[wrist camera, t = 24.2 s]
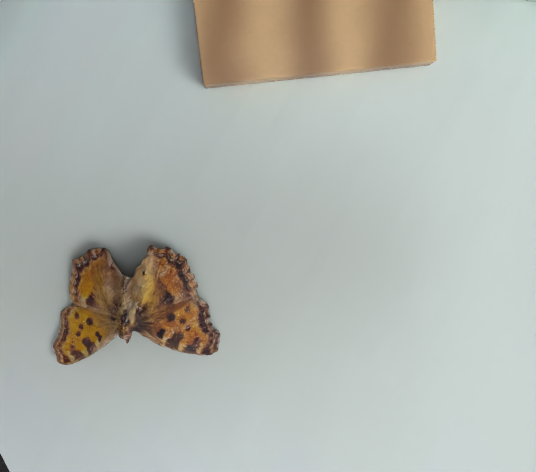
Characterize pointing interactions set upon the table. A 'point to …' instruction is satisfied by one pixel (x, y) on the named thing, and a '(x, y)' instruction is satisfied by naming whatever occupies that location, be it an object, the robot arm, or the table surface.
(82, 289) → the butterfly model
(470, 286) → the table surface
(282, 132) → the table surface
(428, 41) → the cutting board
